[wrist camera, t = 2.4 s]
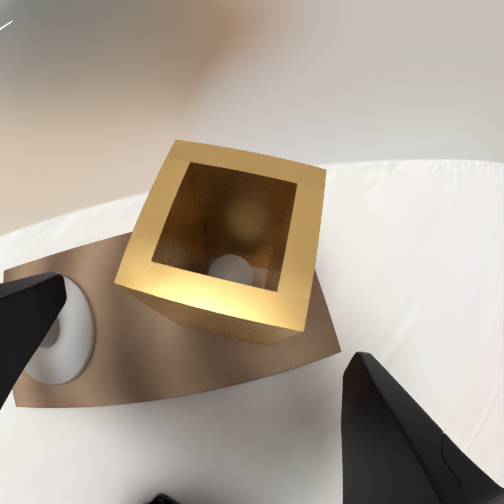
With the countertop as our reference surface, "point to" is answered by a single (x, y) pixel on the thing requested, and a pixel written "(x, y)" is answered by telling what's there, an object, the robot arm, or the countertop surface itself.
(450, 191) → the countertop surface
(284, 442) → the countertop surface
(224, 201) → the gold square tube
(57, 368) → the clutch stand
